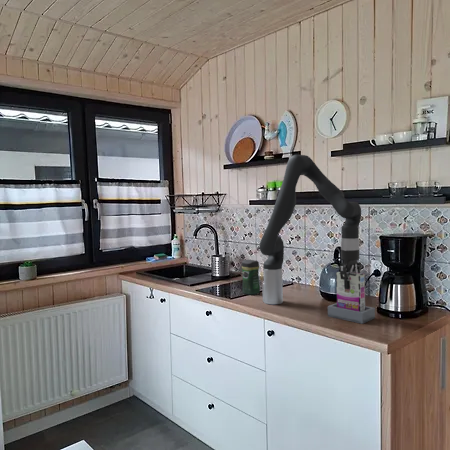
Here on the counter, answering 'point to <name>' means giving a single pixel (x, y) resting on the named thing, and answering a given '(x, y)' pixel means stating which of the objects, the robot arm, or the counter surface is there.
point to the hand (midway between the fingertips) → (350, 287)
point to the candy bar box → (351, 292)
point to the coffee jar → (250, 277)
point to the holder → (351, 314)
